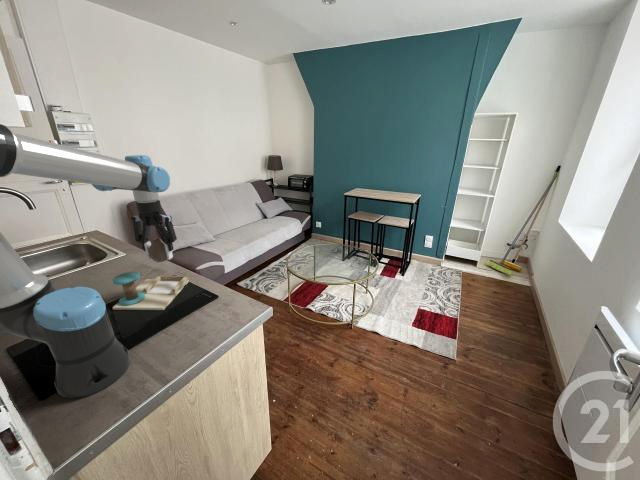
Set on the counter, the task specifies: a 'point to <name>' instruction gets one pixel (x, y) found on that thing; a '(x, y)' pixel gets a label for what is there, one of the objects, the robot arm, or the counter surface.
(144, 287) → the jig board
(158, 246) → the vase
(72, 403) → the counter surface
